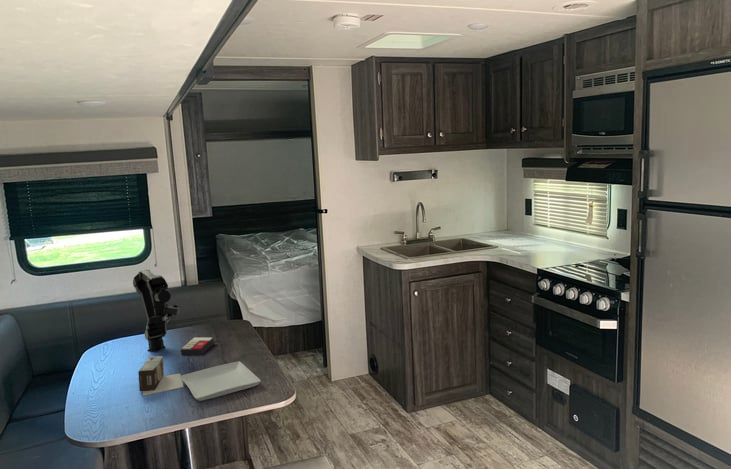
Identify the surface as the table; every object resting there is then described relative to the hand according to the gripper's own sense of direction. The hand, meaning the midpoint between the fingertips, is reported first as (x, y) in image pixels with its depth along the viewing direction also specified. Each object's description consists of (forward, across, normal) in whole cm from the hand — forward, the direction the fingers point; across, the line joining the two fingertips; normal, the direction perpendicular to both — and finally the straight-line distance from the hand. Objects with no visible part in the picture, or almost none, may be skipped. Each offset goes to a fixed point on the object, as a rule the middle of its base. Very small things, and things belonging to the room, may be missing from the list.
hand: (164, 334), depth 262 cm
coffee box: (+11, -19, -1) cm, 22 cm away
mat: (+18, -28, -5) cm, 33 cm away
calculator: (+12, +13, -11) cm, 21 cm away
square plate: (+22, -32, -30) cm, 49 cm away
